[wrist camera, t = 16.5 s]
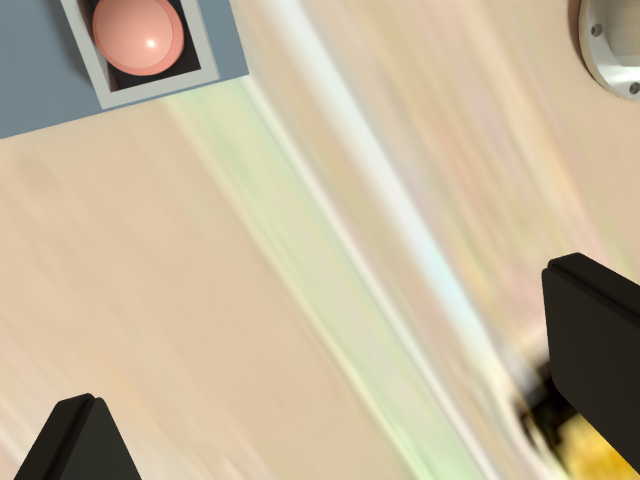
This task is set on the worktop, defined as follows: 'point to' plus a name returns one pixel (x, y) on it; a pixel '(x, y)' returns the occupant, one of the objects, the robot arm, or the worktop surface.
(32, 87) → the game board
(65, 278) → the worktop surface
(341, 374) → the worktop surface
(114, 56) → the dome
